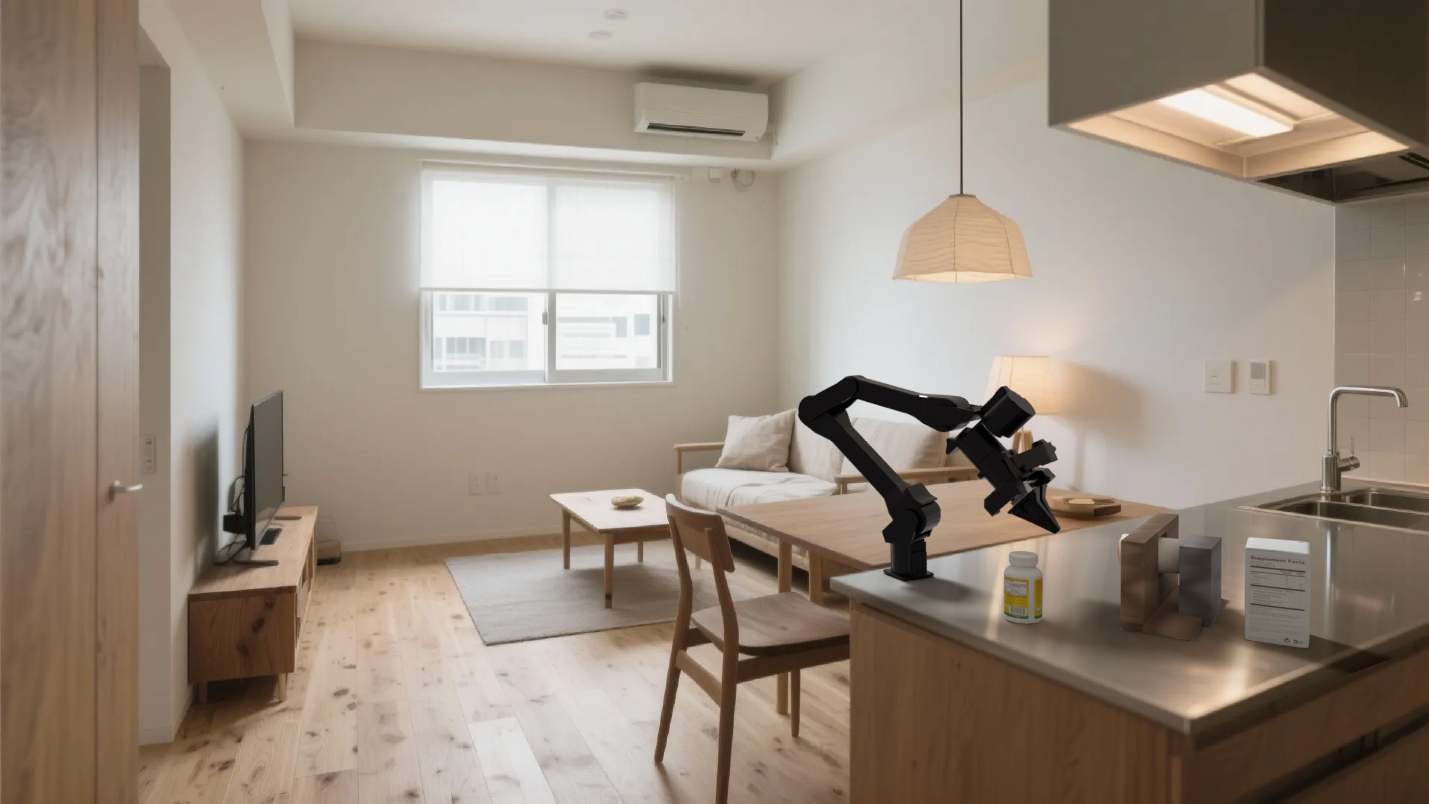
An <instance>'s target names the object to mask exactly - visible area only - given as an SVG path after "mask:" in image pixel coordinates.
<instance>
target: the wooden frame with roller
mask: <svg viewBox="0 0 1429 804" xmlns="http://www.w3.org/2000/svg"><path fill="white" fill-rule="evenodd" d="M1179 520H1180V514H1176V513H1167V512H1165V513H1164V512H1157V513H1155V514H1154V515H1153V516H1151V517H1150V518H1149V519H1148V520H1147V521H1145V522H1144V523H1142V524H1141V525H1140V526H1138V527H1137V528H1136V529H1134V530H1133V531H1132V532H1130V533H1128V534H1129V535H1128V536H1126V537H1125V538H1124V539H1122V540H1121V565H1120V630H1121V629H1124V630H1123V631H1128V632H1133V633H1141V634H1146V635H1147V634H1148V635H1154V636H1159V637H1160V636H1161V637H1164V638H1165V637H1167V638H1173V639H1178V640H1185V641H1191V642H1192V641H1194V639H1196V637H1197V635H1198V634H1199V632H1200V630H1201V629H1202V628H1203V627H1207V628H1211V627H1212V626H1213V624H1214V622H1215V621H1216V620H1217V618H1218V616H1219V615H1220V613H1221V611H1222V548H1223V547H1222V544H1223V543H1222V542H1223V541H1222V540H1223V539H1222V537H1220V536H1211V535H1210V536H1209V535H1201V534H1198V535H1197V534H1190V535H1189V536H1188V537H1187V538H1186V539H1185V540H1184V542H1183V543H1182V544H1181V545H1180V546H1179V574H1176V573H1168V572H1160V571H1158V538H1159V537H1163V538H1173V539H1180V538H1179V537H1180V536H1179V535H1180V534H1179V530H1180V529H1179V527H1180V525H1179V524H1180V523H1179V522H1180V521H1179Z"/></svg>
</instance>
